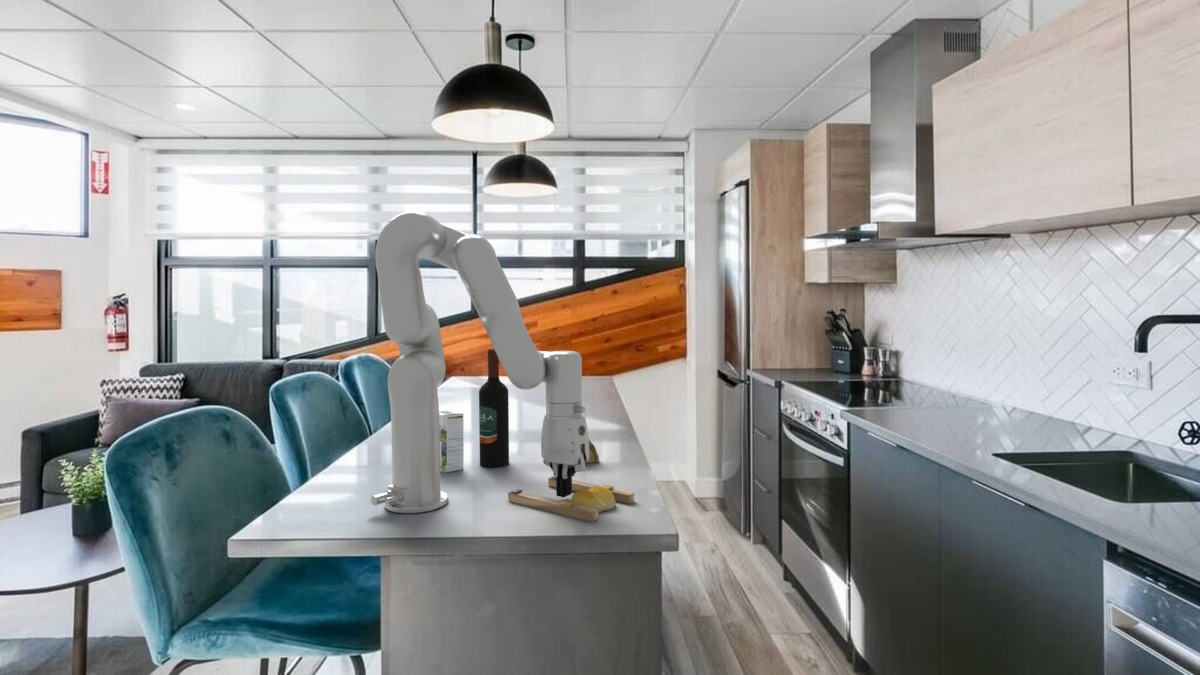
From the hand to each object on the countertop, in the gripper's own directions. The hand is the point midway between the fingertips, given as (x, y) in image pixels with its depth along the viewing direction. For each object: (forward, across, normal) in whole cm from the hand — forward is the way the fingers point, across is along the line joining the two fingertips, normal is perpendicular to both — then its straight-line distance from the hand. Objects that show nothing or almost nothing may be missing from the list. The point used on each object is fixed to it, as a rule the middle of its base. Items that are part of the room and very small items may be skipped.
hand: (564, 495), depth 128 cm
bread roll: (+1, -8, 0) cm, 8 cm away
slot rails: (+1, -2, 0) cm, 2 cm away
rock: (+1, +16, -26) cm, 30 cm away
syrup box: (+1, +39, -2) cm, 39 cm away
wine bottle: (+1, +33, -12) cm, 35 cm away
